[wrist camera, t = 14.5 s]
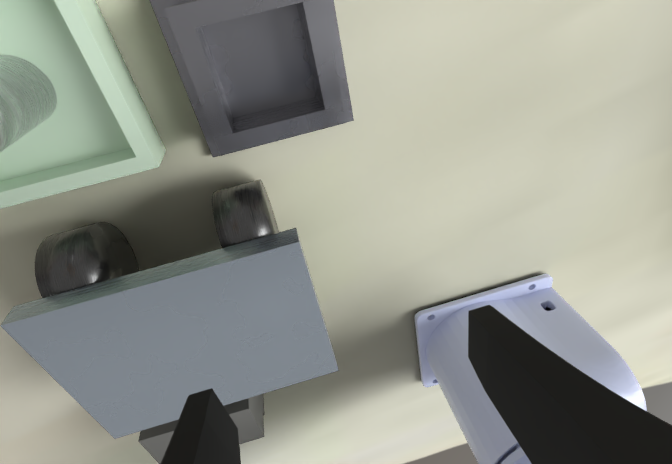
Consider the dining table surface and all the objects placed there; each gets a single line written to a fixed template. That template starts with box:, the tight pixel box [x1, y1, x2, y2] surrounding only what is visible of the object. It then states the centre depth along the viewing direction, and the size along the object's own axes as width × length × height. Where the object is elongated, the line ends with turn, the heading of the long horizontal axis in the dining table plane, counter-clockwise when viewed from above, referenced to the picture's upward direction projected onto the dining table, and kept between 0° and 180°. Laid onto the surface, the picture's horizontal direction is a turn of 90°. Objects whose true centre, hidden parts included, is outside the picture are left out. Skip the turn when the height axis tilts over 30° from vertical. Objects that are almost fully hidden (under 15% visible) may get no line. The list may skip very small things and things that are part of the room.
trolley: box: [0, 180, 339, 439], centre depth 19 cm, size 11×11×5 cm
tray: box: [0, 0, 166, 209], centre depth 14 cm, size 8×7×2 cm
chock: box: [139, 394, 264, 464], centre depth 23 cm, size 6×4×4 cm
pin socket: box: [150, 0, 354, 157], centre depth 15 cm, size 6×6×2 cm
